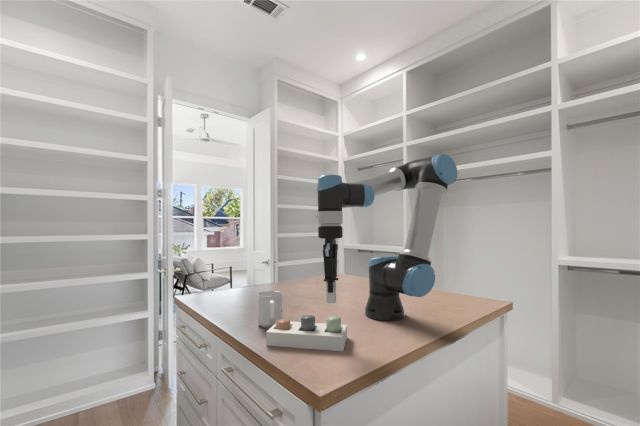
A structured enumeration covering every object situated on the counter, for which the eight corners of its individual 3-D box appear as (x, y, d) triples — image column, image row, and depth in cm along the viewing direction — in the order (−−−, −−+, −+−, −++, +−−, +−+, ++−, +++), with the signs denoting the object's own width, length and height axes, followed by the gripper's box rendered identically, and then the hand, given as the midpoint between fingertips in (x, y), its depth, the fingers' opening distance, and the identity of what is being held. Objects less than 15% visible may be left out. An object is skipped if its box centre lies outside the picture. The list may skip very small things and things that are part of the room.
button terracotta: (291, 332, 98) (291, 319, 98) (287, 337, 94) (287, 323, 94) (278, 332, 99) (278, 318, 99) (274, 336, 95) (274, 323, 95)
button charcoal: (316, 328, 97) (316, 315, 97) (313, 333, 92) (313, 319, 93) (302, 328, 98) (302, 314, 98) (299, 332, 93) (299, 318, 93)
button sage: (341, 330, 95) (341, 316, 95) (339, 335, 91) (339, 321, 91) (327, 329, 96) (327, 315, 96) (325, 334, 92) (325, 320, 92)
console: (347, 337, 98) (347, 324, 98) (343, 351, 87) (343, 336, 87) (278, 332, 103) (278, 320, 103) (266, 345, 92) (266, 331, 92)
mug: (257, 321, 115) (257, 291, 115) (281, 319, 117) (280, 290, 117) (259, 332, 103) (259, 299, 103) (285, 330, 105) (285, 297, 106)
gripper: (322, 225, 102) (323, 297, 101) (313, 225, 89) (314, 307, 89) (345, 225, 101) (346, 297, 100) (339, 225, 88) (340, 309, 87)
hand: (331, 302), depth 94 cm, fingers closed
